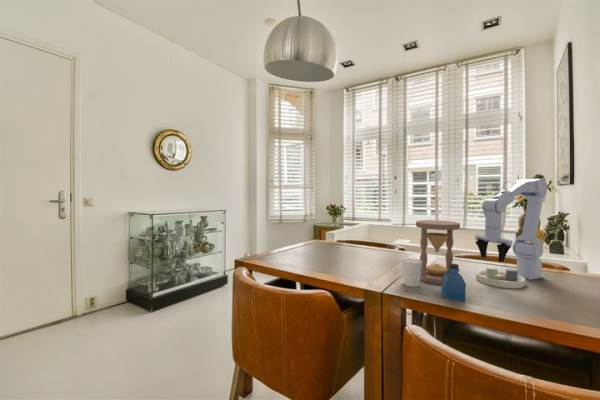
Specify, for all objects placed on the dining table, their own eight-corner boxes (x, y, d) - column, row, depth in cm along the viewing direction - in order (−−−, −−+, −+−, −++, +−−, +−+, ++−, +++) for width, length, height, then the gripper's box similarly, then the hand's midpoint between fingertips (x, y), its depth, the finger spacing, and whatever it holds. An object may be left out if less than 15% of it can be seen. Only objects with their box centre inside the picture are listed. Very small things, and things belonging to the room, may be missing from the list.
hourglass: (445, 272, 138) (446, 220, 137) (467, 284, 120) (469, 224, 119) (408, 272, 138) (409, 220, 137) (425, 285, 120) (426, 224, 119)
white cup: (421, 282, 123) (422, 259, 123) (420, 288, 116) (421, 263, 116) (402, 280, 127) (402, 257, 126) (400, 285, 119) (400, 261, 119)
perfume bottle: (465, 301, 103) (466, 267, 103) (446, 299, 105) (447, 266, 104) (459, 294, 109) (460, 263, 109) (441, 293, 111) (442, 262, 110)
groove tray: (493, 273, 136) (493, 268, 136) (534, 285, 120) (534, 279, 120) (467, 277, 130) (467, 272, 130) (506, 290, 114) (506, 284, 114)
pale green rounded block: (490, 278, 126) (490, 267, 125) (499, 281, 122) (499, 269, 122) (483, 279, 124) (484, 267, 124) (493, 282, 121) (493, 270, 120)
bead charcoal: (509, 280, 123) (510, 268, 123) (519, 283, 119) (520, 271, 119) (503, 281, 122) (503, 269, 121) (513, 284, 118) (513, 272, 118)
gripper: (470, 225, 128) (469, 256, 128) (504, 230, 114) (503, 264, 115) (481, 224, 130) (481, 255, 131) (516, 229, 117) (515, 262, 117)
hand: (492, 259), depth 123 cm, fingers open, 7 cm apart
